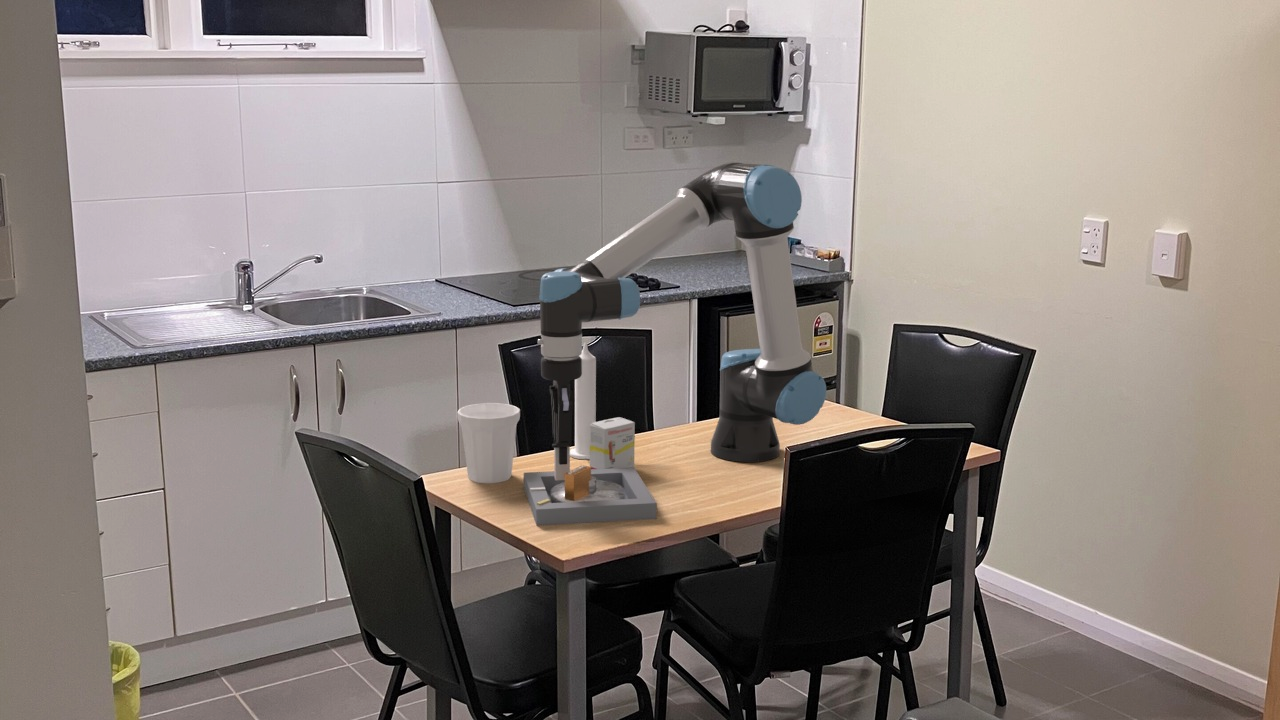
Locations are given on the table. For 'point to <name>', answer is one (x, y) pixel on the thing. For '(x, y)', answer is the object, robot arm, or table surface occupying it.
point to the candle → (584, 405)
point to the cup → (489, 440)
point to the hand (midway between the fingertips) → (562, 478)
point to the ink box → (612, 444)
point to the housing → (631, 508)
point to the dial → (585, 488)
